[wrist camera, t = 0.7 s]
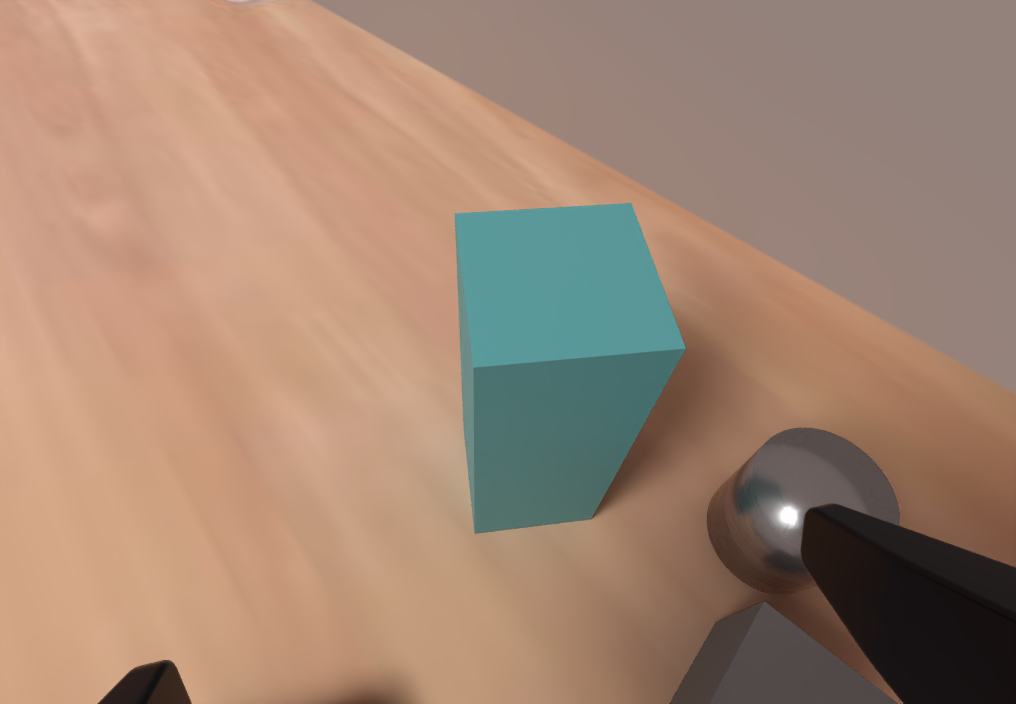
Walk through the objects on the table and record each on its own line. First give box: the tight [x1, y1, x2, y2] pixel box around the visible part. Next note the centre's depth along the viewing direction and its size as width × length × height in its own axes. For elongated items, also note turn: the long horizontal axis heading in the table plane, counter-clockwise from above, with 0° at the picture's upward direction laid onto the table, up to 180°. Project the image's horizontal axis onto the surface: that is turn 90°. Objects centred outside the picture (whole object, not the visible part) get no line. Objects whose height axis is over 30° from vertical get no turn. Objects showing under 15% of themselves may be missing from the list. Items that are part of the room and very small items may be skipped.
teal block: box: [455, 203, 686, 534], centre depth 20 cm, size 5×5×13 cm
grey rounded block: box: [707, 428, 899, 594], centre depth 22 cm, size 5×5×5 cm
